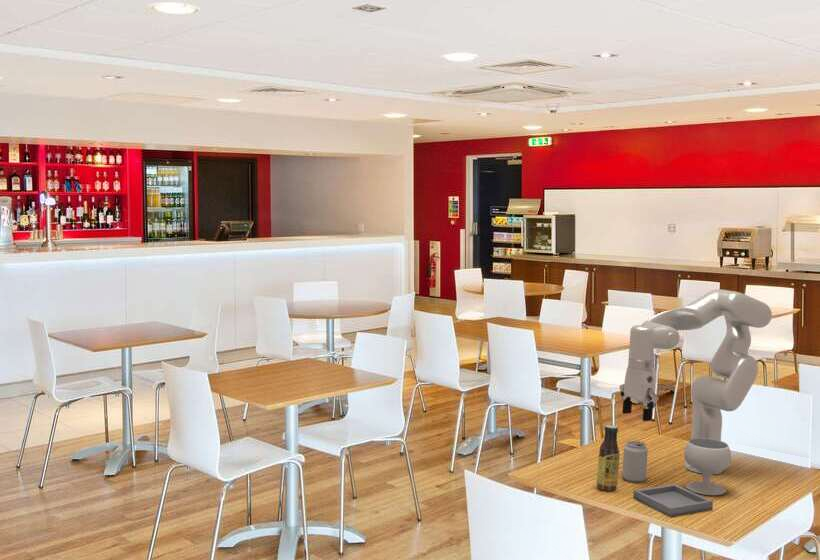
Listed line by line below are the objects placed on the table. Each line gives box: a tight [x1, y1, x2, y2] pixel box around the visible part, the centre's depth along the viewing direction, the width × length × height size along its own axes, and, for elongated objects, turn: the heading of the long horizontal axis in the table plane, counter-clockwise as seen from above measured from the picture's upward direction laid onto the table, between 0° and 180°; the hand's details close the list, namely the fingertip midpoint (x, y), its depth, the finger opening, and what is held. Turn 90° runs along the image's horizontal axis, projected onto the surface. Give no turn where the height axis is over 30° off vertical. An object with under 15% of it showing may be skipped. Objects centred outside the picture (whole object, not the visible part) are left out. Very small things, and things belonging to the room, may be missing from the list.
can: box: [621, 440, 649, 483], centre depth 278 cm, size 8×8×12 cm
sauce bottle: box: [596, 424, 621, 492], centre depth 268 cm, size 6×6×20 cm
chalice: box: [683, 438, 732, 496], centre depth 270 cm, size 14×14×15 cm
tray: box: [632, 483, 714, 518], centre depth 257 cm, size 16×16×2 cm
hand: (636, 416), depth 276 cm, fingers open, 9 cm apart
